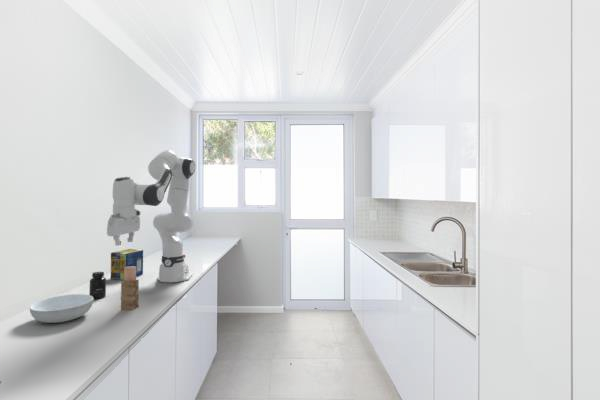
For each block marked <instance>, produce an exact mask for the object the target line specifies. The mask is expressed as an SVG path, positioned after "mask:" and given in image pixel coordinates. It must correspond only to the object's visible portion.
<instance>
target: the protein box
mask: <svg viewBox="0 0 600 400" xmlns="http://www.w3.org/2000/svg"><path fill="white" fill-rule="evenodd" d="M128 266H136V276H137V277H140V276H142V274H144V250H143V249H137V248H136V249H134V248H127V249H123V250H118V251H113V252H110V279H111V280H121V281H124V267H128ZM139 275H140V276H139Z"/></svg>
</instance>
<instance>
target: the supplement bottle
mask: <svg viewBox="0 0 600 400" xmlns="http://www.w3.org/2000/svg"><path fill="white" fill-rule="evenodd" d="M104 276H105V272H104V271H94V272H92V275H91V278H90V279H89V294H88V295H90V296H92V297H93V298H94V300H100V299H103V298H105V297H106V295H107V278H106V277H104Z"/></svg>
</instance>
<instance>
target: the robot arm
mask: <svg viewBox="0 0 600 400" xmlns="http://www.w3.org/2000/svg"><path fill="white" fill-rule="evenodd" d="M147 170H148V173H149V176H151V177H152V178H153V179H154V180H156V182H155V183H153V184H138V183H136V182H135V181H134V178H133V177H130V176H123V177H116V178H115V179H114V181H113V183H112V199H113V204H112V214H110V216H109V218H108V220H107V227H106V234H107V236H108V237H113V241H114V242H115V243H114V244H115V246H122V241H121V240H120V238H121V236H122V235H125V234H128V238H127V240H126V241H127V243H133V241H134V236H135V232H138V231H139V230H140V228H141V227H140V226H141V217H140V216H141V211H140V210H138V209H136V205H137V206H152V207H158V206H159V205H160V204H161V203H162V202H163V201H164V197H165V194H166V192H167V189H168V194H167V196H166V197H167V198H166V203H167V204H168V205H169V206H170V208H171V212H162V213H158V214H156V215H155V216H154V217H153V220H152V224H153V225H152V226H153V227H154V228H155V229H156V230H157V232H158V234H159V236H160V238H161V244H162V255H161V264H160V265H159V270H158V277H156V280H157V281H159V282H161V283H179V282H185V281H189V280H190V279H191V278H192V277H193V275H194V274H193V273H192V272H189V271H190V267H189V265H188V264H187V263H186V262H185V258H186V254H183V253H184V252H183V250H184V248H183V246H184V244H183V240H182V239H181V238H179V236H178V234H177V233H180V234H181V233H182V234H183V233H187V232H190V231H191V230H192V229H193V225H194V221H193V218H192V216H191V215H190V214H189V210H188V206H187V203H188V195H189V190H190V178H191V177H192V176H193V175H194V173H195V171H196V164H195V161H194V159H192V158H189V157H181V156H177V155H176V153H175V152H174V151H172V150H163V151H162V152H160V153H158V154H157V155H156V156H155V157H154V158H153V159H152V160H151V161H150V162H149V163H148V167H147Z"/></svg>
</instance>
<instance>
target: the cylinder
mask: <svg viewBox="0 0 600 400" xmlns="http://www.w3.org/2000/svg"><path fill="white" fill-rule="evenodd" d="M136 280H137V277H136V266H128V267H124V280H123V281H124V282H134V281H136Z"/></svg>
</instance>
